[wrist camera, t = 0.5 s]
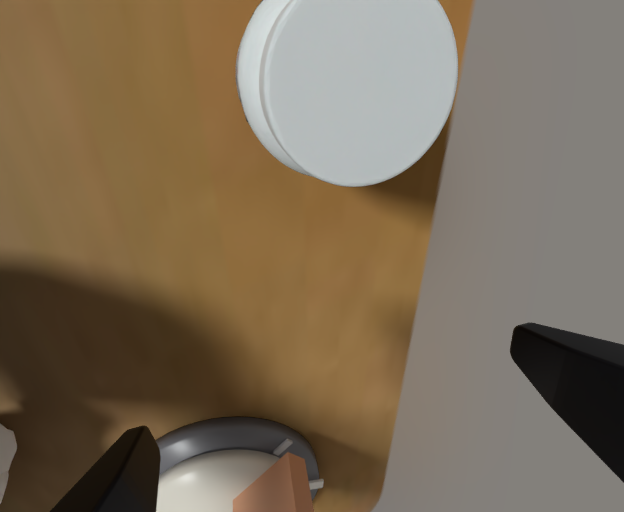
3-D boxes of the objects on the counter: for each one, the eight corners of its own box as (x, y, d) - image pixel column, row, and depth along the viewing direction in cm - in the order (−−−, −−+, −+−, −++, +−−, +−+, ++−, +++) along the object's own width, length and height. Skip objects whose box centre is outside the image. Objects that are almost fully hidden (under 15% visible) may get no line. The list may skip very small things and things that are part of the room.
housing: (181, 553, 33) (179, 572, 32) (81, 464, 26) (73, 484, 24) (336, 494, 33) (340, 510, 32) (281, 389, 26) (283, 405, 25)
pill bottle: (236, 138, 18) (238, 208, 9) (234, -5, 15) (233, -99, 6) (349, 143, 19) (446, 210, 10) (364, 11, 16) (513, -50, 8)
